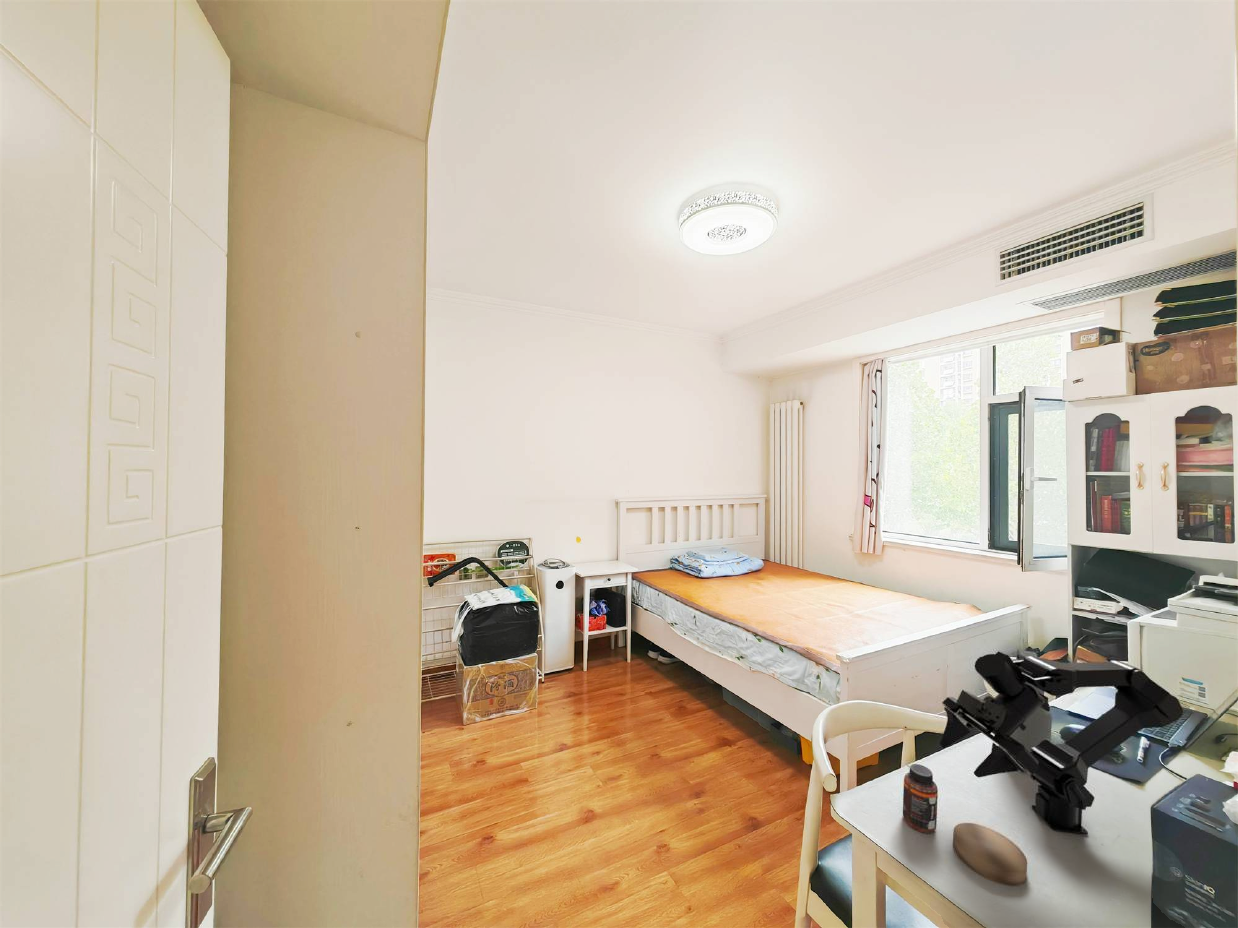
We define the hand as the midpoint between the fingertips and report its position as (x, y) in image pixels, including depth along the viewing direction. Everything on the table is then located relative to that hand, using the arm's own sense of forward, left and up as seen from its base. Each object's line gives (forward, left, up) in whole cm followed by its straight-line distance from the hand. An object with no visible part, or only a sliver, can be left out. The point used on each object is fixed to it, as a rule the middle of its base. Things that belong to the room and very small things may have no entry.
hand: (957, 759), depth 97 cm
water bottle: (-28, -25, -14) cm, 40 cm away
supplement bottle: (+8, +1, -14) cm, 16 cm away
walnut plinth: (-1, +8, -13) cm, 16 cm away
